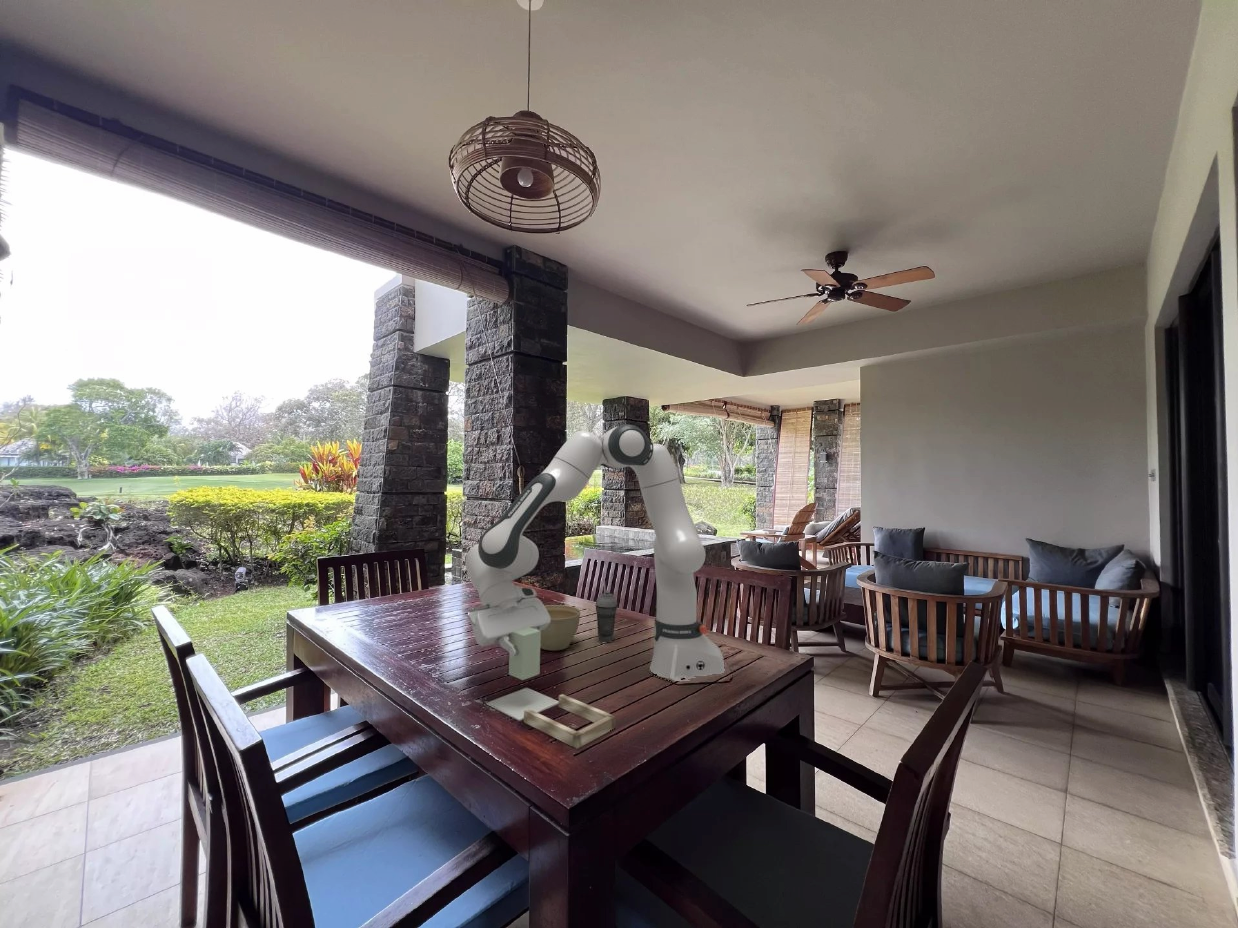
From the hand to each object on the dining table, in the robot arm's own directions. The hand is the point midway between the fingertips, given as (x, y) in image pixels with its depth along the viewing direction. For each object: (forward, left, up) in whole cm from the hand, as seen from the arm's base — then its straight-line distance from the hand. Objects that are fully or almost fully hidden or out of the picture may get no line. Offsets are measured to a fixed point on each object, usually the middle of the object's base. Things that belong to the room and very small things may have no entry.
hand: (526, 651), depth 119 cm
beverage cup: (-17, -48, -12) cm, 52 cm away
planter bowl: (-1, -42, -12) cm, 44 cm away
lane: (-12, +10, -12) cm, 20 cm away
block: (0, 0, -5) cm, 5 cm away
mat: (0, 0, -12) cm, 12 cm away
